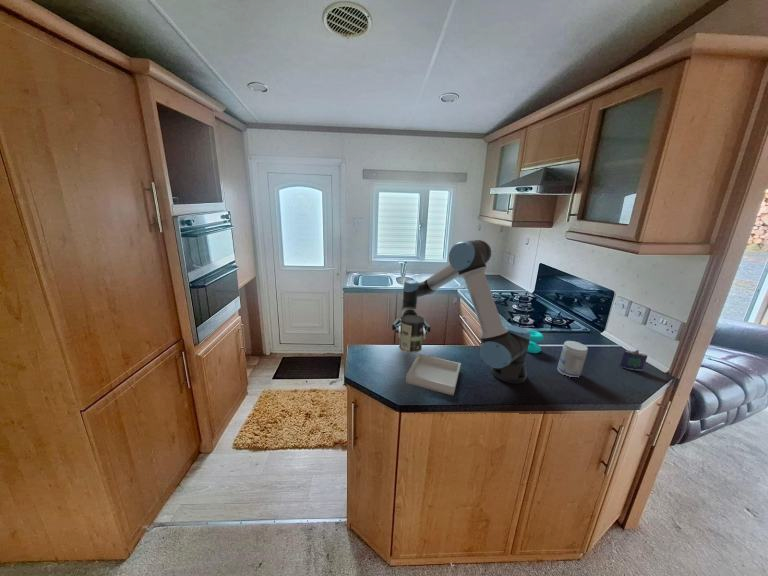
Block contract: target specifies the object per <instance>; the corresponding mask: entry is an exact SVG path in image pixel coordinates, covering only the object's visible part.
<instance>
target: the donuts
mask: <svg viewBox="0 0 768 576" xmlns="http://www.w3.org/2000/svg"><path fill="white" fill-rule="evenodd" d="M526 330H527V331H529V332H530V334H531V336H530V342H529V346H528V351H527V353H531V354H538V353H541V351H542V347H541V346H540V345H539V344H538V342H542V341H543V340H544V339H545V338H544V337H545V336H544V335H543V333H541V332H540V331H539V330H538V331H537V330H533V329H526Z"/></svg>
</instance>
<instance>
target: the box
mask: <svg viewBox="0 0 768 576" xmlns="http://www.w3.org/2000/svg"><path fill="white" fill-rule="evenodd" d="M461 365H462V363H461V362H457V361H453V360H448V359H444V358H441V357H435V356H431V355H427V354H423V353H418V354H417V356H416V357H415V359H414V361H413V363H412V365H411V366H410V368H409V369H408V372H407V373H406V376H405V377H406V379H405V383H406V384H408V385H412V386H416V387H420V388H423V389H427V390H430V391H433V392H438V393H441V394H446V395H449V396H452V397H453V396H454V395H455V391H456V388H457V387H456V386H457V383H458V379H459V375H460V371H461V367H462V366H461Z"/></svg>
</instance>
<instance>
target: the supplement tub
mask: <svg viewBox="0 0 768 576" xmlns="http://www.w3.org/2000/svg"><path fill="white" fill-rule="evenodd" d="M588 350H589V348H588V346H586V345H585V344H583V343H581V342H579V341H573V340H566V341H564V343H563V346H562V348H561V351H560V356H559V360H558V363H557V371H558V372H559V373H560V374H561V375H562V376H564V375H566V376H565V377H567V376H569V377H568V378H570V377H578V378H580V377H581V375H582V371H583V368H584V364H585V361H586V358H587V355H588ZM579 376H580V377H579Z"/></svg>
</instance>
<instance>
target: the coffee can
mask: <svg viewBox="0 0 768 576" xmlns="http://www.w3.org/2000/svg"><path fill="white" fill-rule="evenodd" d="M400 319H401V322H400V323H401V327H400V328H401V335H400V338H399V345H398V348H399V350H400V351H402V352H403V353H406V354H417V353H419V352H421V351H422V349H423V348H422V347H423V346H422V345H423V325H424V319H425V318H424V317H422V316H420V315H418V314H417V315H404V316H400Z"/></svg>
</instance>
